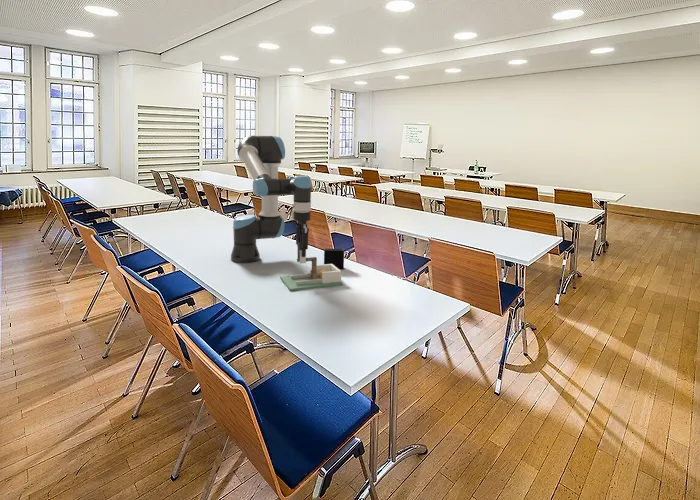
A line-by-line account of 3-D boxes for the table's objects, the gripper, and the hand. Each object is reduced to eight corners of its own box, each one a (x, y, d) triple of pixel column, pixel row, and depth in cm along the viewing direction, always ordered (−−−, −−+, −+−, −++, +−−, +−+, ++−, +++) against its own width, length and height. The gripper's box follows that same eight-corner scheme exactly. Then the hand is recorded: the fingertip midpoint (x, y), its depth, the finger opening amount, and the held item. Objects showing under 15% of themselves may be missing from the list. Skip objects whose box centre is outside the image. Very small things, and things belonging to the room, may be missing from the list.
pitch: (280, 278, 208) (280, 266, 206) (329, 273, 217) (330, 262, 216) (289, 291, 192) (289, 277, 190) (343, 285, 201) (343, 273, 200)
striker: (295, 278, 204) (295, 241, 200) (314, 276, 208) (314, 240, 203) (299, 282, 199) (299, 244, 195) (318, 280, 203) (318, 243, 198)
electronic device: (323, 267, 228) (324, 248, 225) (343, 267, 229) (343, 248, 226) (324, 269, 224) (324, 250, 221) (343, 269, 225) (344, 250, 222)
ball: (326, 269, 208) (325, 277, 209) (318, 269, 207) (317, 277, 208) (328, 271, 205) (328, 279, 206) (320, 272, 203) (320, 280, 204)
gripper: (289, 208, 200) (289, 257, 206) (298, 214, 186) (298, 267, 192) (305, 207, 203) (304, 256, 209) (315, 214, 189) (314, 266, 195)
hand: (301, 261), depth 200 cm, fingers closed on striker, 3 cm apart
